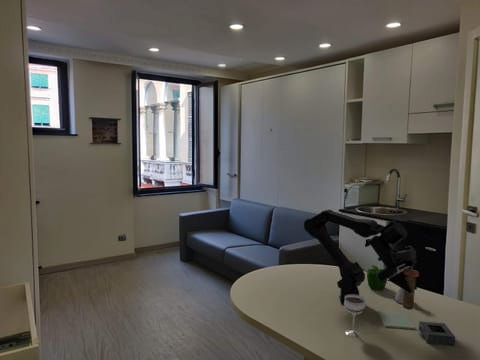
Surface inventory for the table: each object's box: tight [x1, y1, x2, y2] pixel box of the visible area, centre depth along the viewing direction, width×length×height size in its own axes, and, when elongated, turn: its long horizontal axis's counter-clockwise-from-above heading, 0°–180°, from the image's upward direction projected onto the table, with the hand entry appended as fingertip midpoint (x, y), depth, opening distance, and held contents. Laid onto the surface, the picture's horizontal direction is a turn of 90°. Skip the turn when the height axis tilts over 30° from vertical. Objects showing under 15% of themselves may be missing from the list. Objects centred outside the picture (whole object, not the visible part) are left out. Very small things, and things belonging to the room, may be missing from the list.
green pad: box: [377, 310, 416, 330], centre depth 128 cm, size 10×10×1 cm
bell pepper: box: [366, 264, 389, 291], centre depth 154 cm, size 8×8×10 cm
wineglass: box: [343, 294, 366, 338], centre depth 119 cm, size 7×7×12 cm
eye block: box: [418, 320, 456, 346], centre depth 117 cm, size 8×8×3 cm
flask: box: [394, 287, 404, 305], centre depth 142 cm, size 7×7×10 cm
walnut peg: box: [402, 268, 420, 311], centre depth 123 cm, size 5×5×13 cm
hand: (413, 290), depth 122 cm, fingers closed on walnut peg, 3 cm apart
